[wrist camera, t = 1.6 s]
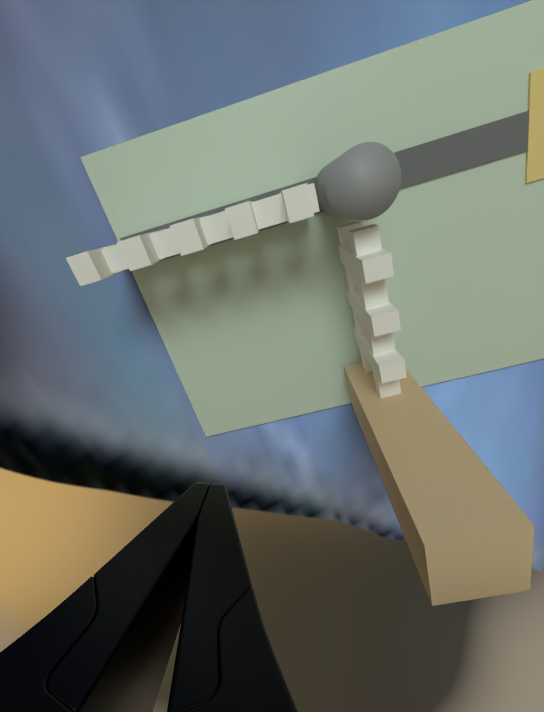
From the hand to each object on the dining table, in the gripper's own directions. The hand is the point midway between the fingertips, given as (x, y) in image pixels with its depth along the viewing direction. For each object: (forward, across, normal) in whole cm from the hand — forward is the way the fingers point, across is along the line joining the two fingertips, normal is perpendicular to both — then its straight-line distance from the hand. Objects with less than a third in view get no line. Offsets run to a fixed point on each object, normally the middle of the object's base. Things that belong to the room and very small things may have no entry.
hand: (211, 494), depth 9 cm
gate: (+11, +6, +1) cm, 13 cm away
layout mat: (+12, +6, +5) cm, 14 cm away
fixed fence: (+12, -1, +6) cm, 13 cm away
